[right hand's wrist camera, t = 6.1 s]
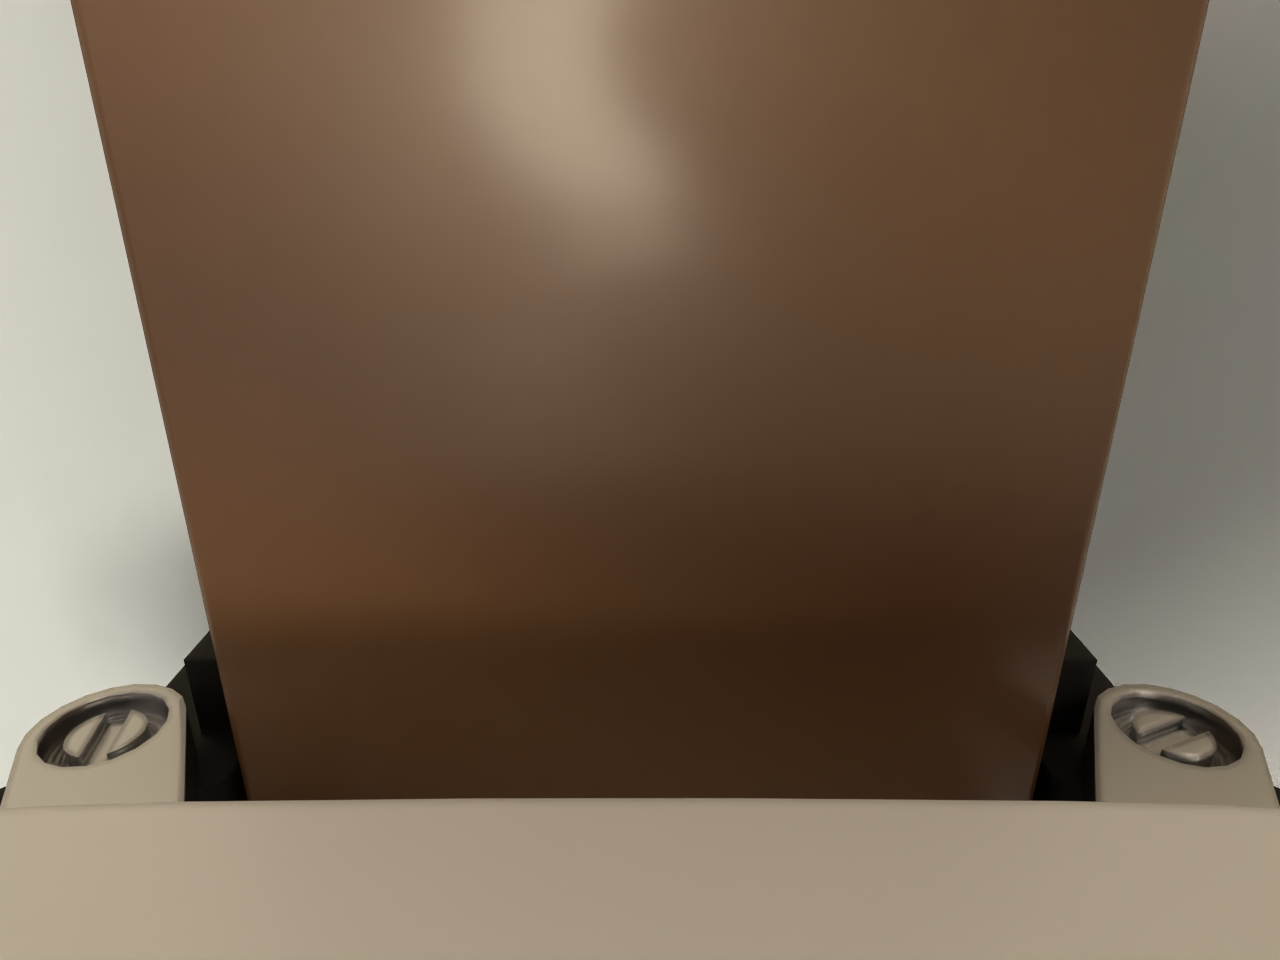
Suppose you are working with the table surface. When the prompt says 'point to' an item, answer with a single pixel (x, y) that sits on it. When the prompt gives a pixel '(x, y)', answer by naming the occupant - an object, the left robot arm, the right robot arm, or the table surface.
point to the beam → (639, 375)
